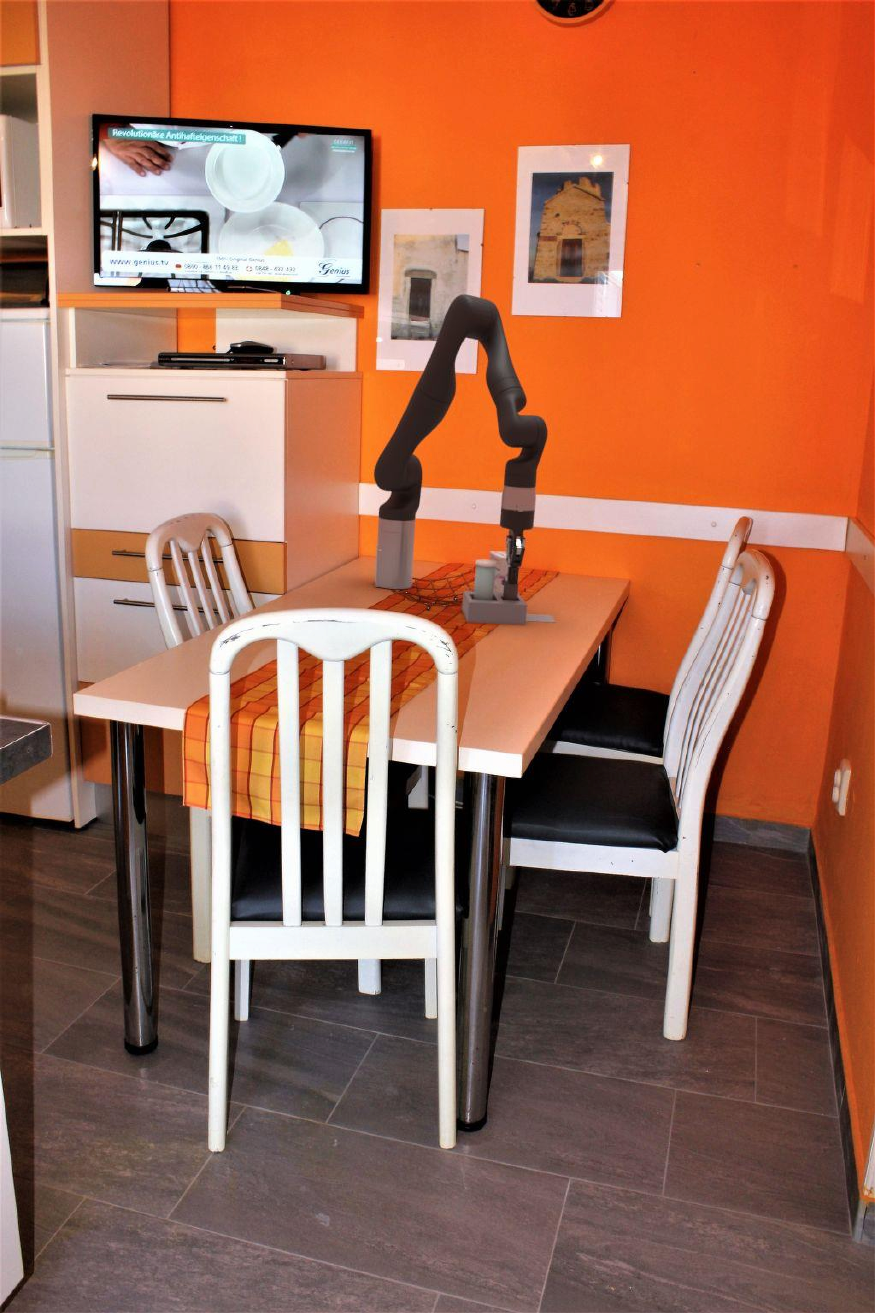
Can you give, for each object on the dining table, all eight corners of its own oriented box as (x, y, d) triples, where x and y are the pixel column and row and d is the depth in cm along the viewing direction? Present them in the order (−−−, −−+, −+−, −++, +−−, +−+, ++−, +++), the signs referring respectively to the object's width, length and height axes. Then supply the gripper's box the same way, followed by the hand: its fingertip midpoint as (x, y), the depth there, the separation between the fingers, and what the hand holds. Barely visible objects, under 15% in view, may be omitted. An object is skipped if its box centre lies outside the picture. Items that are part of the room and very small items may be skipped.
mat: (525, 623, 252) (525, 620, 252) (520, 616, 259) (520, 613, 259) (555, 624, 253) (555, 622, 253) (550, 617, 260) (550, 615, 260)
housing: (467, 624, 248) (469, 602, 246) (462, 612, 259) (463, 590, 258) (525, 626, 249) (527, 605, 248) (517, 614, 260) (519, 593, 259)
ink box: (485, 597, 277) (490, 538, 273) (504, 597, 278) (509, 538, 275) (497, 605, 269) (502, 544, 265) (516, 605, 271) (521, 544, 267)
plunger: (503, 608, 252) (505, 584, 251) (501, 605, 255) (503, 581, 254) (517, 609, 252) (519, 585, 251) (515, 605, 255) (517, 582, 254)
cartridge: (472, 618, 251) (476, 562, 248) (470, 613, 256) (474, 558, 253) (493, 619, 252) (498, 563, 248) (491, 614, 256) (495, 559, 253)
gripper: (497, 502, 254) (492, 577, 258) (505, 509, 241) (499, 588, 246) (530, 503, 254) (524, 578, 259) (539, 511, 242) (533, 590, 246)
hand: (512, 583), depth 252 cm, fingers closed
